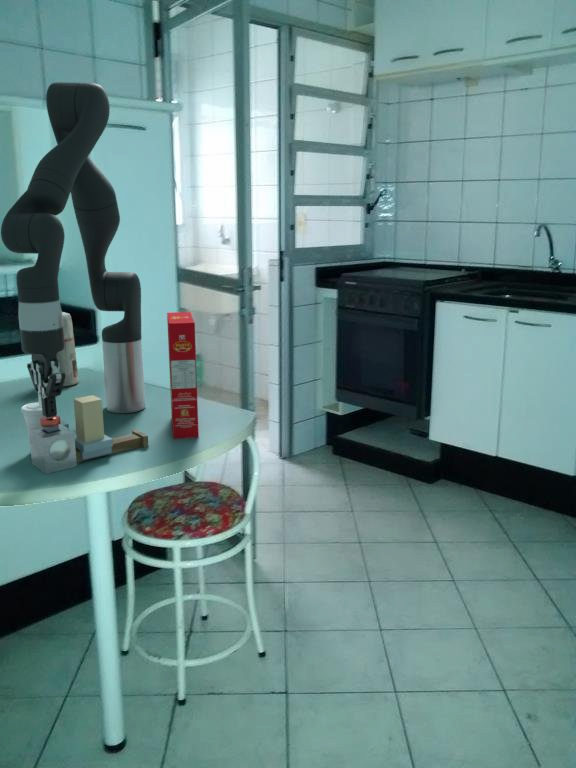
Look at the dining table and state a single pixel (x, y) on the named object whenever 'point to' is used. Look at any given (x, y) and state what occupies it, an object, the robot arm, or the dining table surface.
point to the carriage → (90, 427)
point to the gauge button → (50, 424)
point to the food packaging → (183, 374)
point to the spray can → (68, 353)
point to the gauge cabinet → (53, 449)
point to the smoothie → (32, 414)
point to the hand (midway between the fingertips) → (49, 415)
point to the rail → (122, 444)
